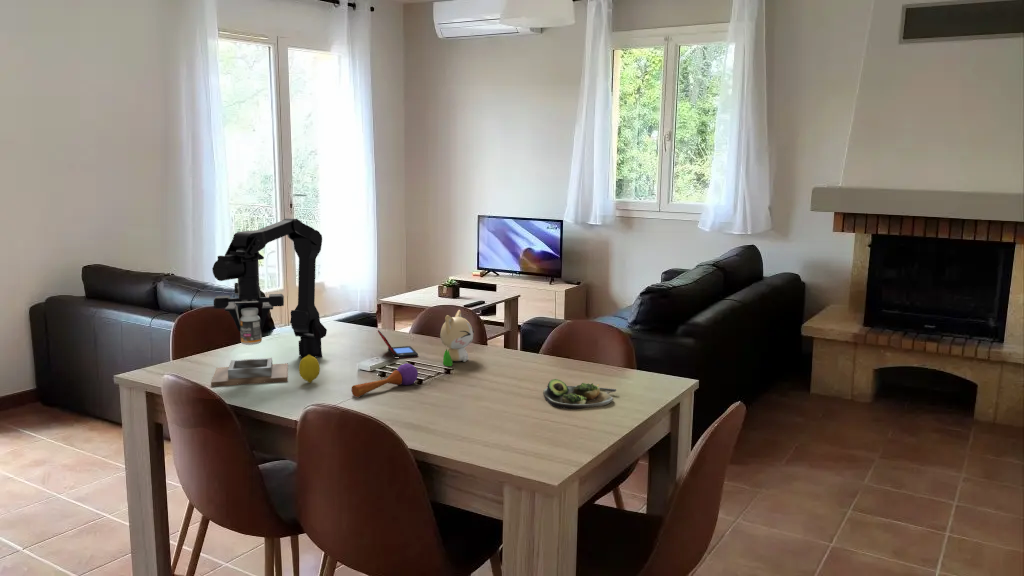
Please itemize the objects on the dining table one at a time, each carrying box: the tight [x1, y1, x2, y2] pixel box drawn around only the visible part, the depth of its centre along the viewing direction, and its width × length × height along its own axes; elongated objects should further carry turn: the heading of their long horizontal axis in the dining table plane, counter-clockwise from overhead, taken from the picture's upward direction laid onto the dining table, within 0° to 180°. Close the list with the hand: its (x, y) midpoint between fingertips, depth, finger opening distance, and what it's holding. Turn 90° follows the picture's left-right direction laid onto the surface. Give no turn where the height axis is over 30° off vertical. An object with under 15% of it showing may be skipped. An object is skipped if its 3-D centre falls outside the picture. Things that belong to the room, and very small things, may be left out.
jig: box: [210, 357, 289, 387], centre depth 229 cm, size 20×16×4 cm
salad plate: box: [542, 378, 617, 410], centre depth 209 cm, size 19×18×5 cm
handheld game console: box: [377, 329, 419, 359], centre depth 256 cm, size 12×11×7 cm
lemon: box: [298, 355, 321, 384], centre depth 223 cm, size 6×6×8 cm
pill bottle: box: [239, 307, 263, 346], centre depth 230 cm, size 6×6×10 cm
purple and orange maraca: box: [351, 362, 419, 398], centre depth 217 cm, size 6×6×20 cm
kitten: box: [439, 309, 475, 367], centre depth 247 cm, size 15×10×15 cm
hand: (250, 330), depth 230 cm, fingers closed on pill bottle, 6 cm apart
